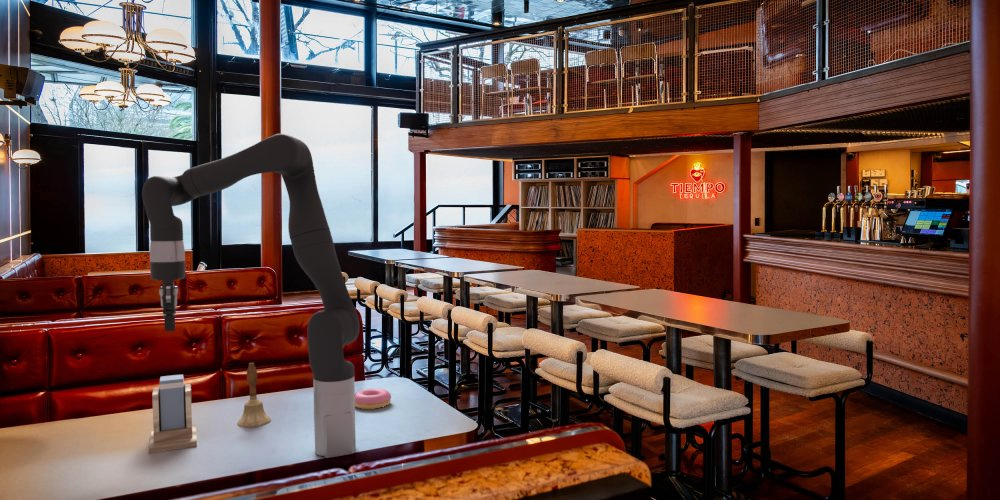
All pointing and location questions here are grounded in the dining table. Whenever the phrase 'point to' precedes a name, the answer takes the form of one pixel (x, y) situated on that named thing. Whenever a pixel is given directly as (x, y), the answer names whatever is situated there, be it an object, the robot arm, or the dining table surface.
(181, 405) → the block
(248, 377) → the hand bell
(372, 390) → the doughnut
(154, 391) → the tan frame
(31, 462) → the dining table surface
